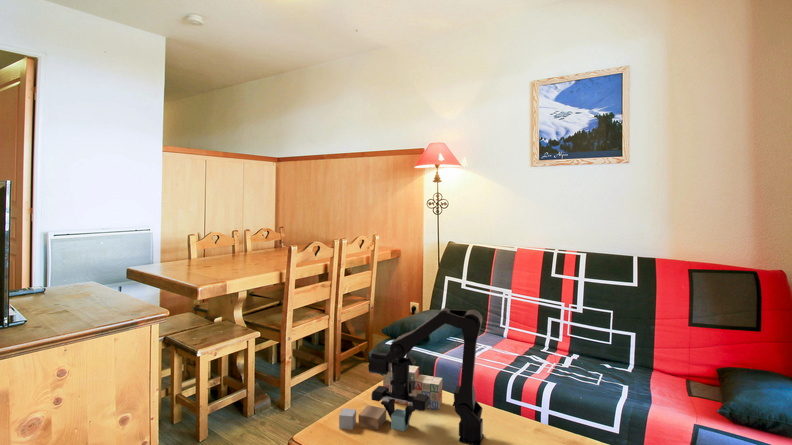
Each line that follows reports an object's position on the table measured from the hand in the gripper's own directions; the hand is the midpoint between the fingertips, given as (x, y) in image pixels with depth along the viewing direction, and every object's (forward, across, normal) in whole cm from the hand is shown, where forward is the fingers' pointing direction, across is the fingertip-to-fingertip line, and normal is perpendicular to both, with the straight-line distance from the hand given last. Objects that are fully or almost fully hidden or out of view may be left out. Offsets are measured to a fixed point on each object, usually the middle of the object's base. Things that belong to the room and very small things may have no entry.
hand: (400, 423), depth 130 cm
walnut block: (+1, +9, +2) cm, 10 cm away
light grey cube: (+1, +16, +6) cm, 17 cm away
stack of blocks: (+1, +3, -18) cm, 18 cm away
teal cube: (+1, 0, 0) cm, 1 cm away
